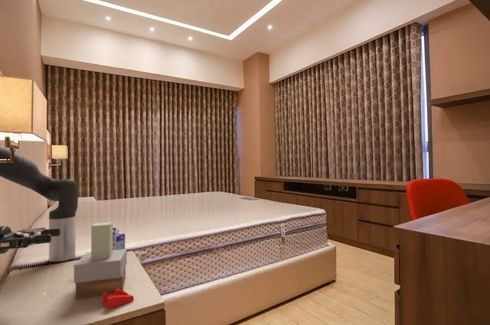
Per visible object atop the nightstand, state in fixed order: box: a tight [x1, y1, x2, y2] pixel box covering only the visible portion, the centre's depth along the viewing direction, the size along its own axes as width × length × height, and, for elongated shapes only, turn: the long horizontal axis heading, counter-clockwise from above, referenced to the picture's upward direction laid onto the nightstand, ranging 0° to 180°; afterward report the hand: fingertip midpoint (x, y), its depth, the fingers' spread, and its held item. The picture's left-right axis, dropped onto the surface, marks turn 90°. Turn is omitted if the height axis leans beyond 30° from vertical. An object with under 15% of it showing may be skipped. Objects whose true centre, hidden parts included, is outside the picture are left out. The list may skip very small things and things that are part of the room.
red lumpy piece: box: [102, 289, 135, 310], centre depth 72 cm, size 6×5×3 cm
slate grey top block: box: [73, 248, 128, 284], centre depth 82 cm, size 12×12×5 cm
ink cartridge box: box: [113, 227, 126, 250], centre depth 100 cm, size 10×6×14 cm, turn 78°
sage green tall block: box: [90, 221, 114, 260], centre depth 82 cm, size 5×5×10 cm
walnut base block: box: [75, 266, 127, 301], centre depth 82 cm, size 12×12×5 cm
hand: (55, 234), depth 78 cm, fingers open, 8 cm apart
